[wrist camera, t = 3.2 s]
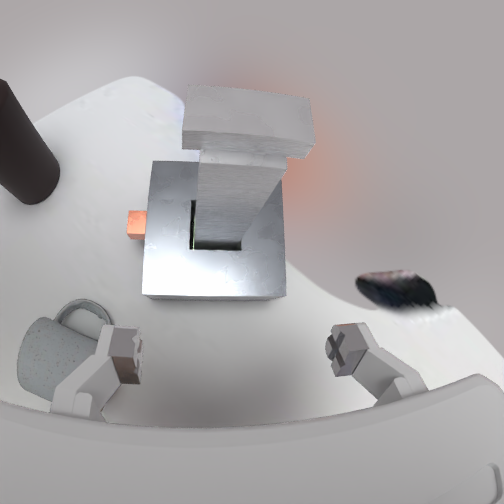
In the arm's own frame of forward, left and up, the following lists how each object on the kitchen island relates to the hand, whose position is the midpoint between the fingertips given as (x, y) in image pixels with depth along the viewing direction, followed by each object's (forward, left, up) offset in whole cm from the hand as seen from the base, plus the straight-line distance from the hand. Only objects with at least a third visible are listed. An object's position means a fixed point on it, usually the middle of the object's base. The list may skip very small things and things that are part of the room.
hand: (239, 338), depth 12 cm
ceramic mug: (-12, -7, -19) cm, 23 cm away
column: (-2, +8, -18) cm, 20 cm away
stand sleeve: (-2, +8, -18) cm, 20 cm away
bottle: (-25, +9, -19) cm, 33 cm away
